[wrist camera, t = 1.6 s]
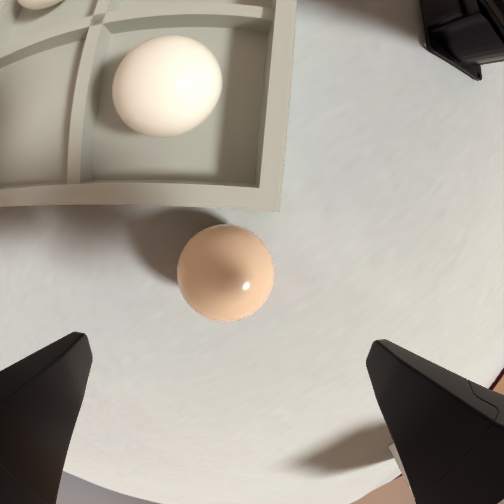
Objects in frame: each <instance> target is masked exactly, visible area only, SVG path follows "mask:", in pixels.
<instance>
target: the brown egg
mask: <svg viewBox="0 0 504 504" xmlns="http://www.w3.org/2000/svg"><path fill="white" fill-rule="evenodd" d="M177 280H178V285H179V289H180V291H181V293H182V295H183V297H184V299H185V301H186V302H187V303H188V304H189V306H190V307H191V308H192V309H194V310H195V311H196V312H197V313H199V314H200V315H202V316H204V317H206V318H208V319H211V320H215V321H222V322H230V321H236V320H240V319H243V318H246V317H248V316H250V315H251V314H253V313H254V312H256V311H257V310H258V309H259V308H260V307H261V306H262V305H263V304H264V303H265V301H266V300H267V298H268V296H269V294H270V292H271V289H272V286H273V282H274V264H273V260H272V257H271V254H270V252H269V250H268V248H267V247H266V245H265V244H264V243H263V241H262V240H261V239H260V238H259V237H258V236H257V235H255V234H254V233H253V232H251V231H249V230H248V229H245V228H243V227H240V226H236V225H230V224H220V225H214V226H211V227H208V228H206V229H203V230H202V231H200V232H198V233H197V234H196V235H194V236H193V237H192V238H191V239H190V240H189V241H188V243H187V244H186V245H185V247H184V248H183V250H182V252H181V254H180V257H179V261H178V266H177Z"/></svg>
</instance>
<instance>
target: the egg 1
mask: <svg viewBox="0 0 504 504" xmlns="http://www.w3.org/2000/svg"><path fill="white" fill-rule="evenodd" d="M17 1H18V3H19V4H20V5H21V6H23V7H25V8H27V9H32V10H39V9H44V8H48V7H51V6H53V5H55V4H57V3H59V2H61V1H62V0H17Z"/></svg>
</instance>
